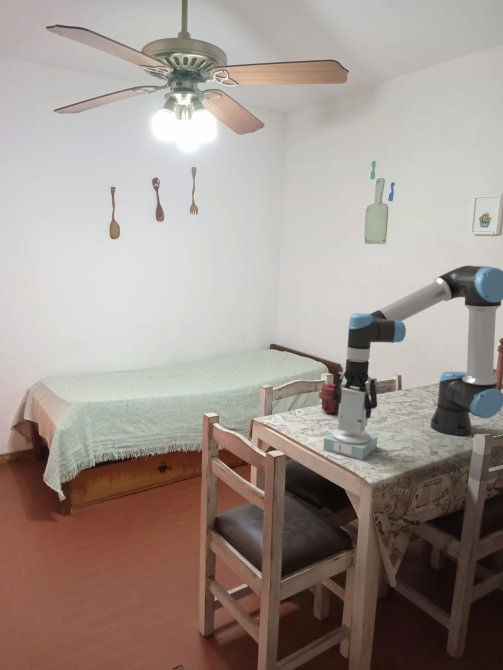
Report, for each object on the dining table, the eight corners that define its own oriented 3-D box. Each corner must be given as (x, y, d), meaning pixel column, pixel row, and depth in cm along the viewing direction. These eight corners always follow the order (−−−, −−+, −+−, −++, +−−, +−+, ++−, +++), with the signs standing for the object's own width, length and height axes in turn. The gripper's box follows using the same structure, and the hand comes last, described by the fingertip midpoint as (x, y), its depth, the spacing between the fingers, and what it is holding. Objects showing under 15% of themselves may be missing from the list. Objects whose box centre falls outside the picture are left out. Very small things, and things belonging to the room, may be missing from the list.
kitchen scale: (376, 447, 173) (377, 433, 172) (361, 460, 161) (362, 446, 160) (339, 437, 181) (340, 424, 180) (322, 449, 169) (323, 436, 168)
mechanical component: (316, 408, 213) (338, 409, 214) (320, 416, 203) (343, 417, 204) (318, 381, 211) (341, 381, 212) (322, 387, 201) (346, 388, 202)
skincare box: (337, 430, 169) (340, 388, 167) (343, 425, 175) (346, 384, 172) (361, 435, 165) (364, 392, 163) (366, 430, 170) (369, 388, 168)
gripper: (391, 362, 163) (385, 427, 167) (333, 353, 174) (329, 414, 178) (384, 366, 157) (378, 433, 161) (324, 356, 168) (320, 419, 172)
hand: (352, 423), depth 170 cm, fingers closed on skincare box, 8 cm apart
